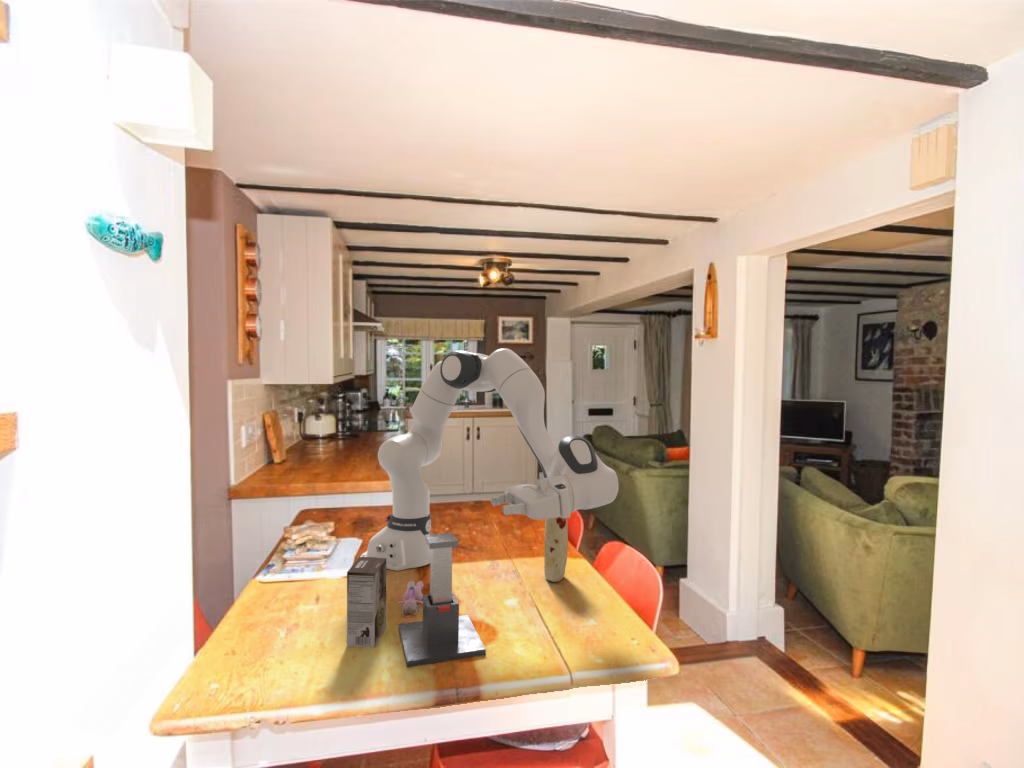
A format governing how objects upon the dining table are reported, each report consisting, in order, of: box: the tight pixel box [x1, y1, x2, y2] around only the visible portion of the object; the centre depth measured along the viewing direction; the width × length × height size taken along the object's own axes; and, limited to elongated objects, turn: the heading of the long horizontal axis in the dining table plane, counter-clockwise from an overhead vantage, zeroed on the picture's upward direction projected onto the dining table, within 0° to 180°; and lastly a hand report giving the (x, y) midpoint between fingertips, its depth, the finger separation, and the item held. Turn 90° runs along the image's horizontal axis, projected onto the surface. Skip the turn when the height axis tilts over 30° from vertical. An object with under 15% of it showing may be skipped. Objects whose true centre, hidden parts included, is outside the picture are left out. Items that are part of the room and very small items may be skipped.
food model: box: [543, 517, 569, 583], centre depth 151 cm, size 10×7×20 cm
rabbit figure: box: [397, 580, 424, 618], centre depth 133 cm, size 6×6×15 cm
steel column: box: [425, 532, 459, 606], centre depth 115 cm, size 6×6×21 cm
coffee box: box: [346, 556, 387, 649], centre depth 116 cm, size 9×6×16 cm
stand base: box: [397, 590, 487, 668], centre depth 115 cm, size 16×16×9 cm
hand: (497, 506), depth 120 cm, fingers open, 8 cm apart
